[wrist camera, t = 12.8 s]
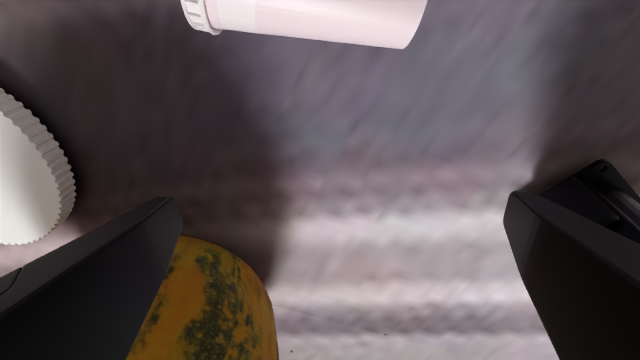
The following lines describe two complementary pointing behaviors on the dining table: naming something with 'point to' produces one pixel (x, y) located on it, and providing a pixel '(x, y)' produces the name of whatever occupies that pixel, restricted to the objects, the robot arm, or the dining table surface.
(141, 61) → the dining table surface
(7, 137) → the plastic lid
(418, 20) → the smoothie
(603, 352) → the robot arm
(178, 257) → the pumpkin
